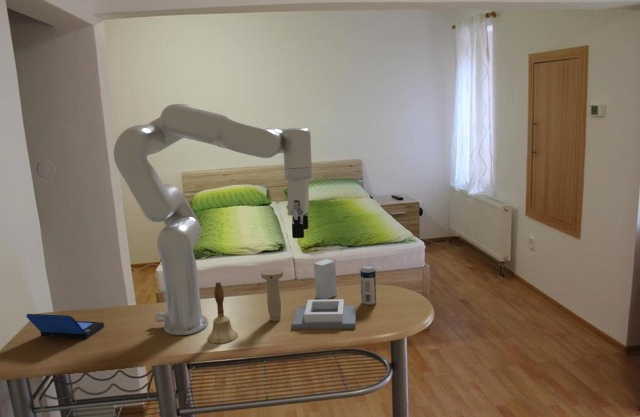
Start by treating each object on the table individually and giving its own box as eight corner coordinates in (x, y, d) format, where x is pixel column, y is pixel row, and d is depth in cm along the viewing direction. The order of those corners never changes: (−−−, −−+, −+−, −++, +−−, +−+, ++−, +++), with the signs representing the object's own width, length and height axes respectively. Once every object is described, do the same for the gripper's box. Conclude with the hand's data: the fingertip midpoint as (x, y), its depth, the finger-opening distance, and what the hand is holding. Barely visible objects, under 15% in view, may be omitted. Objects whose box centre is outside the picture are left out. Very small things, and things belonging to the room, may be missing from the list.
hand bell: (206, 333, 146) (201, 280, 143) (235, 328, 148) (230, 276, 145) (209, 346, 138) (204, 290, 135) (240, 340, 141) (235, 285, 137)
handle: (285, 322, 150) (282, 274, 147) (263, 323, 150) (259, 275, 147) (286, 316, 155) (283, 269, 152) (265, 316, 155) (262, 269, 152)
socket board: (292, 329, 146) (291, 316, 145) (297, 310, 159) (297, 298, 158) (355, 328, 144) (354, 315, 143) (356, 310, 157) (355, 297, 156)
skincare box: (328, 292, 173) (326, 258, 170) (337, 295, 169) (335, 261, 167) (315, 297, 169) (313, 263, 166) (323, 300, 166) (322, 265, 163)
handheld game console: (106, 326, 155) (102, 298, 153) (76, 347, 142) (71, 316, 140) (62, 323, 158) (58, 295, 156) (29, 343, 146) (23, 313, 144)
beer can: (379, 303, 161) (378, 266, 159) (367, 307, 159) (366, 270, 156) (369, 298, 165) (368, 263, 163) (358, 302, 163) (356, 266, 160)
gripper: (289, 169, 150) (291, 226, 153) (279, 178, 133) (282, 241, 136) (314, 169, 149) (316, 226, 153) (308, 177, 132) (310, 241, 136)
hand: (300, 233), depth 144 cm, fingers open, 9 cm apart
